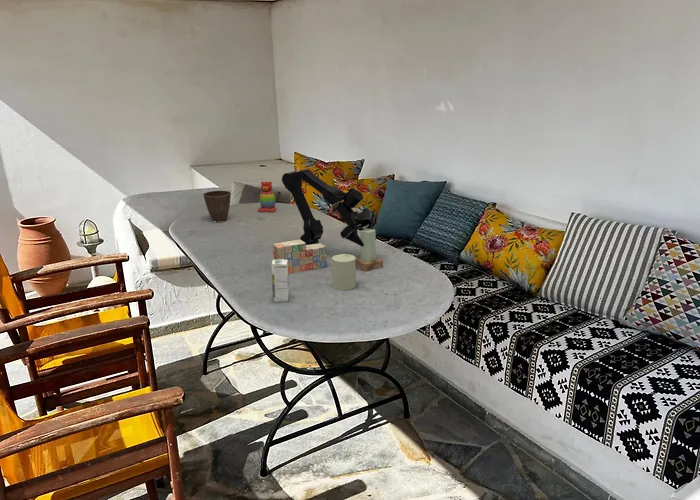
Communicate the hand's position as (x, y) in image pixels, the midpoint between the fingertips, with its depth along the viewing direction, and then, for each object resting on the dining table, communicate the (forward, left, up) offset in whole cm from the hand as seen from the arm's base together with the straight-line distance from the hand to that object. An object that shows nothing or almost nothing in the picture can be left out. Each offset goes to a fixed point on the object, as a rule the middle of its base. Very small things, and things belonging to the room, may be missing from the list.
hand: (369, 243), depth 223 cm
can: (-20, -12, -11) cm, 26 cm away
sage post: (0, +1, -7) cm, 7 cm away
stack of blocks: (-26, +14, -11) cm, 31 cm away
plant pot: (-28, +111, -11) cm, 115 cm away
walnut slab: (0, +1, -10) cm, 10 cm away
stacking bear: (+5, +118, -11) cm, 118 cm away
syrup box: (-46, -10, -11) cm, 49 cm away
